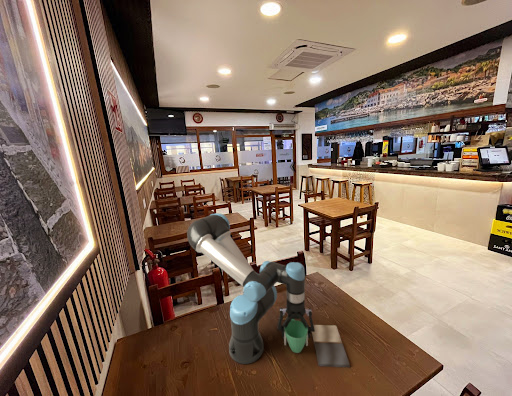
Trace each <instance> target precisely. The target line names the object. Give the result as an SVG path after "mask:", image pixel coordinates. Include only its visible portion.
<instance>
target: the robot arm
mask: <svg viewBox="0 0 512 396" xmlns="http://www.w3.org/2000/svg"><path fill="white" fill-rule="evenodd" d="M230 224H231V222H230V221H229V219H228V217H227V216H226V215H225V214H222V213H219V212H217V213H211V214H210V215H207V216H205V217H201V218H199V219H196V220H194V221H193V222H191V223H190V225H189V226H188V227H187V231H186V234H187V235H186V237H187V240H188V243H189V246H191V248H192V249H194V251H195V252H197V253H198V254H199V253H200V254H203V255H204V256H205V257H207V258H208V259H209V260H210V261H212V262H213V263H214V264H215V265H217V266H218V268H219V269H221V270H222V271H223V272H225V273H226V274H227V275H228V276H230V277H231V278H232V279H233V280H235V281H236V282H237V284H239V285H241V286H242V294H238V295H237V296H236V297H234V298H233V299H232V301H231V303H230V306H229V307H230V308H229V317H230V326H231V336H230V339H229V345H228V350H229V351H228V353H229V356H230V357H231V359H232V360H233V361H234V362H236V363H238V364H240V365H249V364H252V363H256V361H258V360H259V358H261V357H262V355H263V352H264V341H263V338H262V335H261V333H260V331H259V330H260V329H259V322H260V321H261V319H263V317H264V316H265V314H266V313H267V312H268V311H269V310H270V309H271V308H272V307H273V306H274V304H275V303H276V302H277V297H278V290H277V289H276V288H277V287H276V286H275V285H276V284H277V283H279V284H282V285H286V307H285V308H283V307H280V308H279V317H278V321H277V331H278V332H281V338H283V340H284V341H283V343H284V346H287V338H286V334H285V329H286V328H287V326H288V324H289V322H290V321H291V320H292V319H295V320H299V321H301V322H302V323H303V325H304V326H305V328H306V329H308V334H307V338H306V342H305V346H306V347H308V346H309V342H308V341H309V339H310V338H311V334H312V332H314V331H315V329H314V325H315V324H314V321H313V317H312V316H313V311H312V308H311V307H310V308H308V309H307V308H306V307H305V305H306V304H305V303H306V302H305V298H306V297H305V296H306V295H305V288H306V287H305V285H306V284H305V283H306V274H305V272H306V271H305V267H304V265H303V264H302V263H301V262H298V261H297V262H294V261H293V262H292V261H290V262H289V263H287V264H281V263H278V262H274V261H270V260H264V261H263V262H262V264H261V265H260V268H259V273H258V272H256V270H254V268H253V267H252V266H251V264H250V263H249V261H248V260H247V258H246V257H245V256H244V254H243V252H242V251H241V250H240V248H239V247H238V245H237V243H236V242H235V241H234V239H233V238H232V237H231V230H230V228H231V225H230ZM285 314H287V315H286V318H285V319H284V316H285ZM305 314H306V315H307V317H308V320H309V324H308V322H307V320H306V318H305V316H304V315H305Z"/></svg>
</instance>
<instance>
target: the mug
mask: <svg viewBox="0 0 512 396" xmlns="http://www.w3.org/2000/svg"><path fill="white" fill-rule="evenodd" d="M285 334H286V342H287V343H288V346H289V348H290V349H291V351H292V352H293V353H296V354H299V353H301V352H302V351H303V349H304V348H305V346H306V343H305V342H306V338H307V334H308V329H306V328H305V326H304V325H303V323H302V321H301V320H299V319H292V320H291V321H290V322H289V324H288V326H287V328H286V329H285Z"/></svg>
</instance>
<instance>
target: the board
mask: <svg viewBox="0 0 512 396" xmlns="http://www.w3.org/2000/svg"><path fill="white" fill-rule="evenodd" d="M313 325H314V329H315V331H314V332H311V334H312V335H311V336H312V340H313V345H314V350H315V354H316V360H317V366H318V367H327V368H328V367H330V368H351V367H350V365H351V364H350V361H349V359H348V356H347V355H348V354H347V353H346V350H345V347H344V344H343V341H342V339H341V335H340V332H339V330H338V327H337V325H334V324H333V325H332V324H331V325H328V324H325V325H324V324H313Z"/></svg>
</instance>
